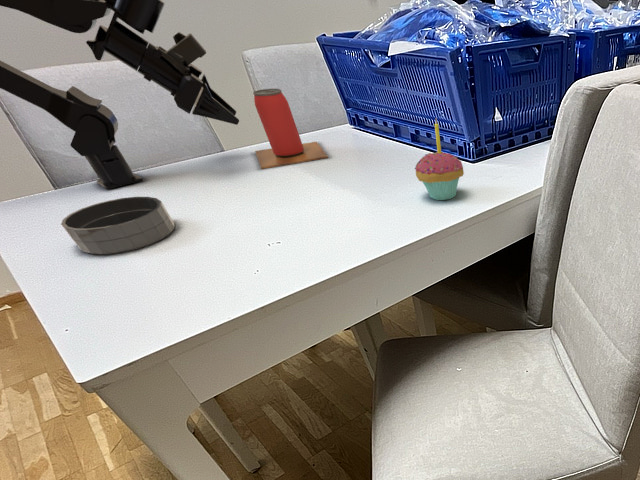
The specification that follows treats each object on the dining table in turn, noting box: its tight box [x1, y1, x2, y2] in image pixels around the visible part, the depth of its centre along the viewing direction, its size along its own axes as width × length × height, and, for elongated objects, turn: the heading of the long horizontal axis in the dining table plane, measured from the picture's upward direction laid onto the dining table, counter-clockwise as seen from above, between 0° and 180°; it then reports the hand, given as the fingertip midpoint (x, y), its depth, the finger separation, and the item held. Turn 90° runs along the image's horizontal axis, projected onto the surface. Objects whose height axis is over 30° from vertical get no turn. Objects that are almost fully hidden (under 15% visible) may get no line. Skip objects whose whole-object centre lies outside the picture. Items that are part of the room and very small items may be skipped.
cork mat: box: [254, 141, 329, 170], centre depth 102 cm, size 14×14×1 cm
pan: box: [60, 196, 175, 255], centre depth 71 cm, size 13×13×4 cm
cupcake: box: [414, 117, 465, 201], centre depth 78 cm, size 9×8×12 cm
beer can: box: [252, 88, 304, 157], centre depth 98 cm, size 7×7×12 cm
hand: (236, 118), depth 94 cm, fingers open, 9 cm apart
